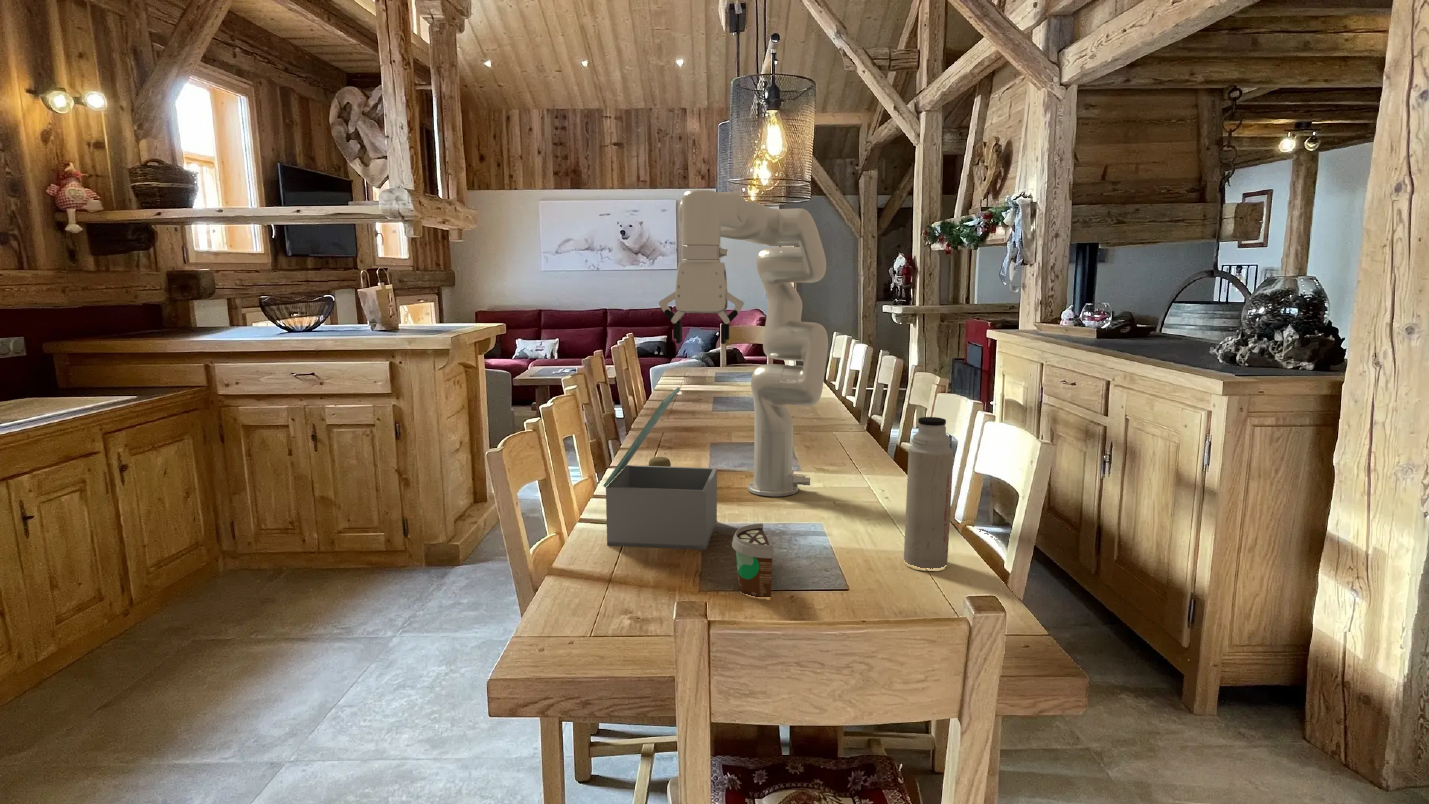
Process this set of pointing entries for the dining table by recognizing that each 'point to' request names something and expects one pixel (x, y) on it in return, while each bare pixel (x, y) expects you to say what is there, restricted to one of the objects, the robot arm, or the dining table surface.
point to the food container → (753, 560)
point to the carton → (662, 507)
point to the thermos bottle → (928, 495)
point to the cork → (659, 461)
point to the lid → (642, 436)
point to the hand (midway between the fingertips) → (701, 342)
